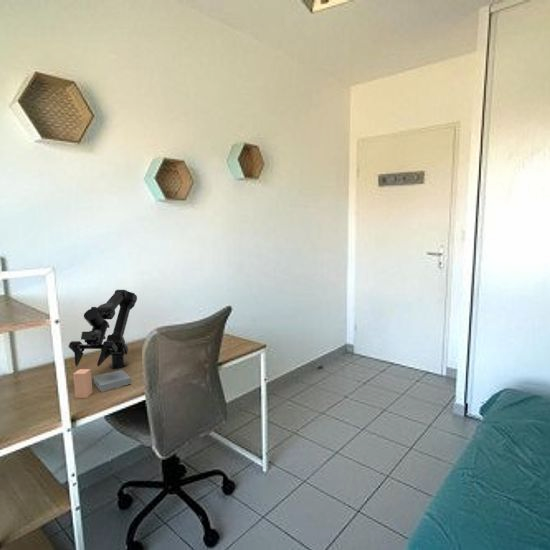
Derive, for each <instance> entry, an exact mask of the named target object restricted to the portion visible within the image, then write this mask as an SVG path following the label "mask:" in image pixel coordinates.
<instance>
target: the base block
mask: <svg viewBox="0 0 550 550" xmlns="http://www.w3.org/2000/svg"><path fill="white" fill-rule="evenodd" d="M131 378H132V377H130V376H129V375H128V374H127V373H126V372H125V371H124V370H123V369H119V370H115V371H110V372H107V373H102V374H98V375H93V384H94V385H95V386H96V388H97V389H98V390H99V392H100V391H101V392H100V393H105V392H108V391H107V390H109V391H111V390H110V389H113V388H116V389H119V388H118V387H120V388H122V387H121V386H124V385H127V384H131V385H132V380H131ZM124 387H125V386H124ZM113 390H114V389H113ZM104 391H105V392H104Z"/></svg>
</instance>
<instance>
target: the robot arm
mask: <svg viewBox="0 0 550 550" xmlns="http://www.w3.org/2000/svg"><path fill="white" fill-rule="evenodd" d="M137 301H138V296H137V294H135V293H134V292H132V291H128V290H127V289H115V291H114V293H113V294H112V295H111V297H110V298H109V299H108V300H107V301H106V302H105V303H102V304H100V305H98V307H97V306H91V307H90V309H88V310H86V311H85V312H84V313H83V318H84V320H85V321H86V322H87V323H88V324H89V325H90V327H92V328H91V330H89V331H82V332H81V337H80V340H81V341H82V340H84V343H82V342H81V341H78V340H72V341H70V342H69V343H68V348H69V349H70V350H71V351H72V352H73V353H74V364H75V365H74V366H75V367H78V366H79V364H80V362H81V360H82V358H83V356H84V351H85V350H101V351H100V355H99V357H98V360H97V367H100V366H101V365H102V363H103V362H104V361H106V360H107V359H108V358H109V357H110V360H111V363H110V364H109V367H111V368H112V369H113V370H115V369H119V368H124V367H127V366H128V364H127V363H126V361H125V355H127V354H128V352H129V347H128V346H127V345H126V340H125V338H124V335H125V330H126V328H127V327H126V325H127V322H128V319H129V316H130V315H129V314H130V311H131V310H132V309H133V308H134V307H135V306H136V302H137ZM118 307H119V309H118V313H117V318H116V321H115V324H114V328H113V332H112V334H108V335H107V337H106V333H107V329H110V324H109V321H107V320H112V319H113V318H114V317H115V315H116V309H117V308H118ZM104 340H105V341H104Z"/></svg>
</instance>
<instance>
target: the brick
mask: <svg viewBox="0 0 550 550" xmlns="http://www.w3.org/2000/svg"><path fill="white" fill-rule="evenodd" d="M91 371H92V370H91V369H90V368H89V369H87V368H82V369H81V368H79V369H78V370H76V371H75V372H74V373H72V375H73V377H72V378H73V386H74V396H75V397H74V398H76V399H78V398H79V399H81V398H84V399H85V398H88V397H89V396H90V395H92V394H93V381H92V372H91Z"/></svg>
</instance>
